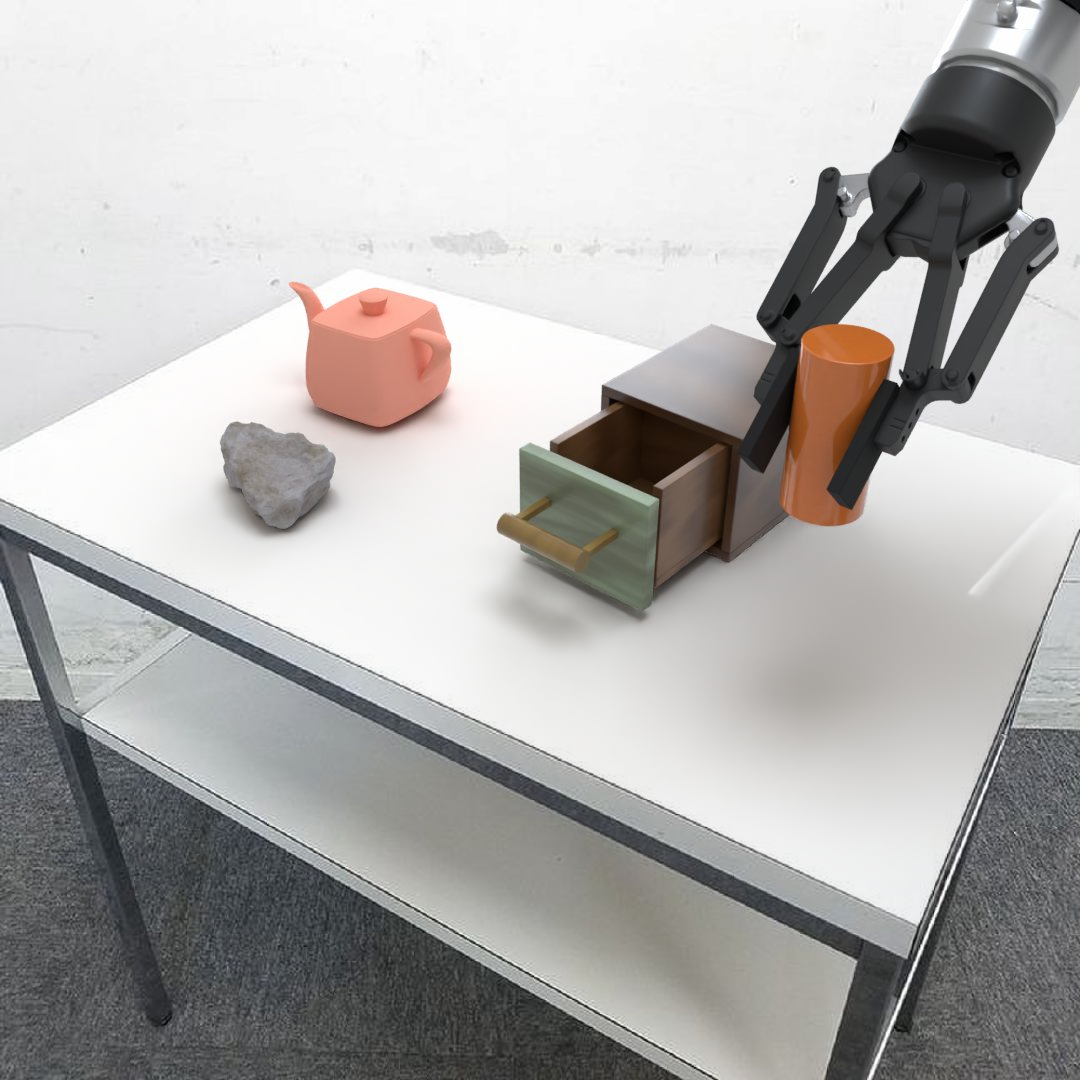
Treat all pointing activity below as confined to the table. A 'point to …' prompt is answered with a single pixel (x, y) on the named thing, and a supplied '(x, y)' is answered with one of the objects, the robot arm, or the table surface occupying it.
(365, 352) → the teapot
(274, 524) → the stone
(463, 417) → the table surface
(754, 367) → the cabinet
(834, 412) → the canister
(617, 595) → the drawer
